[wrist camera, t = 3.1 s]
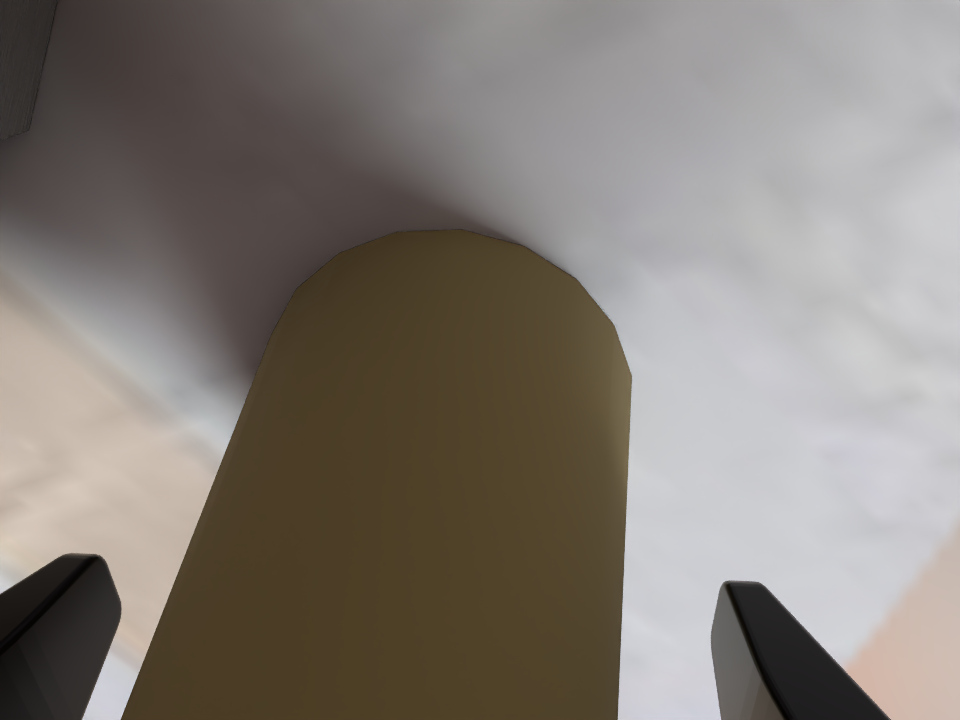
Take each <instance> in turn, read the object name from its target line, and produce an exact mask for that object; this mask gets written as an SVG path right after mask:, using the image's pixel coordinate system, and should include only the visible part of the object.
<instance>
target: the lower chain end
mask: <svg viewBox="0 0 960 720" xmlns="http://www.w3.org/2000/svg"><path fill="white" fill-rule="evenodd" d="M56 4H57V0H0V141H1V140H4V139H6V138H9V137H12V136H15V135H18V134H21V133H23V132H26V131H29V126H30V122H31V117H32V113H33V108H34V104H35V99H36V94H37V90H38V85H39V81H40V76H41V72H42V67H43V63H44V58H45V54H46V49H47V44H48V40H49V35H50V31H51V26H52V22H53V17H54V13H55V8H56Z"/></svg>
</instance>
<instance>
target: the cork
mask: <svg viewBox="0 0 960 720" xmlns="http://www.w3.org/2000/svg"><path fill="white" fill-rule="evenodd" d="M631 384H632V375H631V372H630V370H629V367H628V364H627V361H626V358H625V355H624V352H623V349H622V346H621V343H620V340H619V337H618V334H617V332H616V329H615V326H614V325H613V323H612V322H611V321H610V320H609V318H608V317H607V316H606V315H605V313H604V312H603V311H602V310H601V308H600V307H599V306H598V305H597V304H596V302H595V301H594V300H593V299H592V297H591V296H590V295H589V294H588V292H587V291H586V290H585V289H584V287H583V286H582V285H581V284H580V283H579V281H578V280H576V279H575V278H573V277H572V276H570V275H568V274H567V273H565V272H564V271H562V270H561V269H559V268H558V267H556V266H554V265H553V264H551V263H550V262H548V261H547V260H545V259H543V258H542V257H540V256H539V255H537V254H536V253H534V252H532V251H531V250H529V249H528V248H526V247H524V246H521V245H517V244H513V243H510V242H506V241H502V240H498V239H495V238H491V237H487V236H484V235H480V234H476V233H473V232H469V231H465V230H434V231H407V232H395V233H392V234H390V235H387V236H384V237H382V238H379V239H376V240H373V241H371V242H368V243H365V244H362V245H360V246H357V247H354V248H352V249H349V250H346V251H343V252H341V253H339V254H338V255H336V256H335V257H334V258H333V259H332V260H330V261H329V262H328V263H327V264H326V265H324V266H323V267H322V268H321V269H320V270H318V271H317V272H316V273H315V274H314V275H312V276H311V277H310V278H309V279H308V280H306V281H305V282H304V283H303V284H302V285H300V286H299V287H298V288H297V289H296V291H295V292H294V294H293V296H292V298H291V300H290V301H289V303H288V305H287V307H286V309H285V311H284V312H283V314H282V316H281V318H280V320H279V321H278V323H277V325H276V327H275V329H274V330H273V332H272V334H271V337H270V339H269V342H268V344H267V347H266V349H265V352H264V355H263V357H262V360H261V362H260V365H259V367H258V370H257V372H256V375H255V378H254V380H253V383H252V385H251V388H250V390H249V393H248V395H247V398H246V401H245V403H244V406H243V408H242V411H241V413H240V416H239V419H238V421H237V424H236V426H235V429H234V431H233V434H232V436H231V439H230V442H229V444H228V447H227V449H226V452H225V454H224V457H223V459H222V462H221V465H220V467H219V470H218V472H217V475H216V477H215V480H214V482H213V485H212V488H211V490H210V493H209V495H208V498H207V500H206V503H205V505H204V508H203V511H202V513H201V516H200V518H199V521H198V523H197V526H196V528H195V531H194V534H193V536H192V539H191V541H190V544H189V546H188V549H187V551H186V554H185V557H184V559H183V562H182V564H181V567H180V569H179V572H178V574H177V577H176V580H175V582H174V585H173V587H172V590H171V592H170V595H169V598H168V600H167V603H166V605H165V608H164V610H163V613H162V615H161V618H160V621H159V623H158V626H157V628H156V631H155V633H154V636H153V638H152V641H151V644H150V646H149V649H148V651H147V654H146V656H145V659H144V661H143V664H142V667H141V669H140V672H139V674H138V677H137V679H136V682H135V684H134V687H133V690H132V692H131V695H130V697H129V700H128V702H127V705H126V707H125V710H124V713H123V715H122V718H121V720H617V719H618V695H619V671H620V648H621V624H622V600H623V576H624V552H625V528H626V504H627V480H628V456H629V432H630V408H631Z"/></svg>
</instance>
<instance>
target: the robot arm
mask: <svg viewBox="0 0 960 720" xmlns="http://www.w3.org/2000/svg"><path fill="white" fill-rule="evenodd" d="M120 618H121V601H120V598H119V595H118V592H117V590H116V587H115V584H114V581H113V579H112V576H111V573H110V571H109V568H108V565H107V563H106V561H105V559H103V558H102V557H101V556H100V555H97V554H79V553H69V554H65V555H62V556H60V557H58V558H57V559H55V560H53V561H52V562H50V563H49V564H47V565H46V566H44V567H42V568H41V569H39V570H38V571H36V572H34V573H33V574H31V575H30V576H28V577H27V578H25V579H23V580H22V581H20V582H19V583H17V584H15V585H14V586H12V587H11V588H9V589H8V590H6V591H4V592H3V593H1V594H0V720H82V718H83V716H84V713H85V711H86V708H87V705H88V703H89V700H90V698H91V695H92V692H93V690H94V687H95V685H96V682H97V680H98V677H99V674H100V672H101V669H102V667H103V664H104V661H105V659H106V656H107V654H108V651H109V649H110V646H111V643H112V641H113V638H114V636H115V633H116V630H117V628H118V625H119V622H120ZM711 650H712V658H713V665H714V672H715V679H716V686H717V693H718V700H719V707H720V714H721V720H891V719H890V718H889V717H888V716H887V715H886V714H885V713H884V712H883V711H882V710H881V709H880V708H879V707H878V705H877V704H876V703H875V702H874V701H873V700H872V699H871V698H870V697H869V696H868V695H867V694H866V693H865V692H864V691H863V690H862V688H861V687H859V685H858V684H857V683H856V682H855V681H854V680H853V679H852V678H851V677H850V676H849V675H848V674H847V673H846V672H845V670H844V669H843V668H842V667H841V666H840V665H839V664H838V663H837V662H836V661H835V660H834V659H833V658H832V657H831V656H830V655H829V653H828V652H827V651H826V650H825V649H824V648H823V647H822V646H821V645H820V644H819V643H818V642H817V641H816V640H815V639H814V638H813V636H812V635H811V634H810V633H809V632H808V631H807V630H806V629H805V628H804V627H803V626H802V625H801V624H800V623H799V622H798V621H797V620H796V618H795V617H794V616H793V615H792V614H791V613H790V612H789V611H788V610H787V609H786V608H785V607H784V606H783V605H782V604H781V603H780V601H779V600H778V599H777V598H776V597H775V596H774V595H773V594H772V593H771V592H770V591H769V590H768V589H767V588H766V587H765V586H764V585H762V584H761V583H759V582H752V581H725V582H724V583H723V584H722V586H721V588H720V591H719V596H718V600H717V605H716V610H715V615H714V620H713V625H712V631H711Z"/></svg>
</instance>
